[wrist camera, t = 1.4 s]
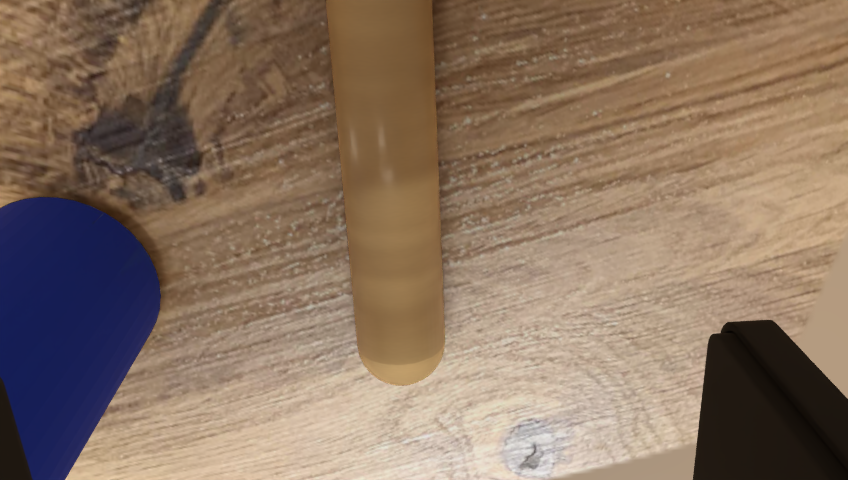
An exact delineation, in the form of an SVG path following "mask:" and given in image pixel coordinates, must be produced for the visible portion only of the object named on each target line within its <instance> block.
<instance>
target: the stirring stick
mask: <svg viewBox="0 0 848 480" xmlns="http://www.w3.org/2000/svg"><path fill="white" fill-rule="evenodd" d="M326 9H327V20H328V31H329V42H330V53H331V64H332V74H333V85H334V96H335V107H336V118H337V129H338V140H339V151H340V162H341V173H342V183H343V194H344V205H345V216H346V227H347V238H348V249H349V260H350V271H351V282H352V292H353V303H354V314H355V325H356V336H357V346H358V351H359V355H360V358H361V360H362V362H363V364H364V366H365V367H366V368H367V370H368V371H369V372H370V373H371V374H372V375H373V376H375V377H376V378H378V379H379V380H381V381H383V382H385V383H388V384H392V385H398V386H404V385H410V384H414V383H417V382H419V381H421V380H423V379H425V378H426V377H428V376H429V375H430V374H431V373H432V372H433V371H434V370H435V369H436V367H437V366H438V364H439V363H440V361H441V358H442V356H443V352H444V346H445V324H444V298H443V272H442V247H441V221H440V195H439V169H438V143H437V118H436V92H435V66H434V40H433V15H432V0H326Z"/></svg>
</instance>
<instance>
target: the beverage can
mask: <svg viewBox="0 0 848 480" xmlns="http://www.w3.org/2000/svg"><path fill="white" fill-rule="evenodd" d="M160 299H161V294H160V284H159V280H158V276H157V273H156V269H155V267H154V265H153V263H152V261H151V258H150V256H149V255H148V253H147V252H146V250H145V249H144V247H143V246H142V244H141V243H140V242H139V241H138V240H137V238H136V237H135V236H134V235H133V234H132V233H131V232H130V231H129V230H128V229H127V228H125V227H124V226H123V225H122V224H121V223H120V222H118V221H117V220H115V219H114V218H112V217H111V216H109V215H108V214H106V213H104V212H102V211H100V210H98V209H96V208H94V207H92V206H90V205H86V204H83V203H80V202H77V201H74V200H68V199H63V198H55V197H37V198H29V199H23V200H20V201H16V202H13V203H10V204H8V205H6V206H4V207H1V208H0V377H1V379H2V380H3V382H4V385H5V388H6V391H7V395H8V398H9V401H10V405H11V408H12V412H13V415H14V418H15V422H16V425H17V428H18V432H19V435H20V439H21V442H22V445H23V449H24V452H25V456H26V459H27V462H28V466H29V469H30V472H31V476H32V479H33V480H65V479H66V477H67V475H68V474H69V472H70V470H71V468H72V467H73V465H74V463H75V462H76V460H77V458H78V456H79V455H80V453H81V451H82V450H83V448H84V446H85V444H86V443H87V441H88V439H89V438H90V436H91V434H92V432H93V431H94V429H95V427H96V426H97V424H98V422H99V421H100V419H101V417H102V415H103V414H104V412H105V410H106V409H107V407H108V405H109V403H110V402H111V400H112V398H113V397H114V395H115V393H116V391H117V390H118V388H119V386H120V385H121V383H122V381H123V379H124V378H125V376H126V374H127V373H128V371H129V369H130V367H131V366H132V364H133V362H134V361H135V359H136V357H137V355H138V354H139V352H140V350H141V349H142V347H143V345H144V343H145V342H146V340H147V338H148V337H149V335H150V333H151V331H152V329H153V327H154V325H155V323H156V321H157V317H158V314H159V310H160Z"/></svg>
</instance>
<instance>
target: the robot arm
mask: <svg viewBox="0 0 848 480" xmlns="http://www.w3.org/2000/svg"><path fill="white" fill-rule="evenodd" d="M0 480H33V479H32V476H31V472H30V469H29V466H28V462H27V459H26V456H25V452H24V449H23V445H22V442H21V439H20V435H19V432H18V428H17V425H16V422H15V418H14V415H13V412H12V408H11V405H10V401H9V398H8V395H7V391H6V388H5V385H4V382H3V380H2V379H1V377H0ZM693 480H848V399H847V398H846V397H845V396H844V395H843V394H842V393H841V392H840V390H839V389H838V388H837V387H836V386H835V385H834V384H833V383H832V382H831V381H830V380H829V379H828V378H827V377H826V376H825V375H824V374H823V373H822V371H821V370H820V369H819V368H818V367H817V366H816V365H815V364H814V363H813V362H812V361H811V360H810V359H809V358H808V357H807V355H806V354H805V353H804V352H803V351H802V350H801V349H800V348H799V347H798V346H797V345H796V344H795V343H794V342H793V341H792V340H791V339H790V337H789V336H788V335H787V334H786V333H785V332H784V331H783V330H782V329H781V328H780V327H779V326H778V325H777V324H776V323H775V322H773V321H772V320H758V321H740V322H727V323H726V324H725V325H724V326H723V328H722V330H721V333H719V334H712V335H711V336H710V339H709V342H708V348H707V357H706V366H705V375H704V384H703V393H702V402H701V411H700V420H699V429H698V438H697V448H696V457H695V466H694V475H693Z"/></svg>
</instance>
